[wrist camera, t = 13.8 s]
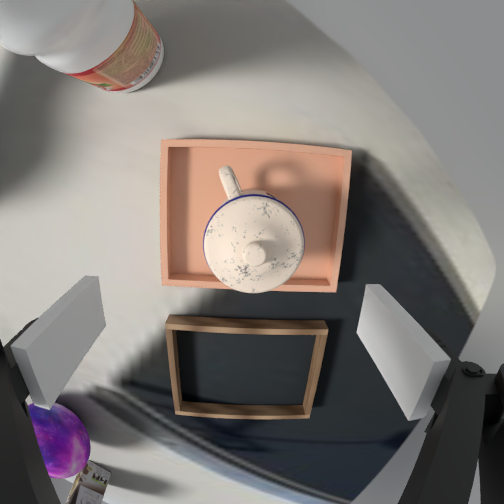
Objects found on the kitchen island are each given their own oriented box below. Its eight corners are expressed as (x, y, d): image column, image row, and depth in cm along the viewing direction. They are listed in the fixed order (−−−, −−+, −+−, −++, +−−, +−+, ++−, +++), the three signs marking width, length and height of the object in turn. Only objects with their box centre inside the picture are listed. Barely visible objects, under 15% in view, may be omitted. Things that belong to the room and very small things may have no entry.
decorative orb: (57, 375, 44) (18, 431, 29) (115, 431, 47) (92, 491, 33) (24, 396, 46) (-9, 443, 31) (75, 444, 49) (52, 494, 35)
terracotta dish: (167, 276, 39) (161, 285, 36) (167, 141, 34) (161, 139, 31) (330, 283, 39) (335, 292, 37) (344, 150, 35) (351, 150, 32)
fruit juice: (172, 80, 32) (34, -48, 5) (101, 105, 32) (-88, 64, 5) (159, 17, 29) (56, -128, 2) (92, 43, 29) (-60, -41, 3)
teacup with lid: (302, 246, 37) (326, 284, 26) (231, 274, 38) (225, 322, 27) (264, 150, 34) (274, 145, 23) (189, 181, 35) (164, 192, 23)
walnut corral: (177, 404, 45) (175, 414, 43) (169, 314, 40) (165, 323, 38) (306, 407, 46) (309, 418, 43) (324, 320, 41) (328, 329, 39)
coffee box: (87, 458, 51) (66, 511, 35) (112, 472, 52) (94, 526, 37) (78, 469, 53) (58, 517, 37) (100, 482, 54) (84, 531, 39)
